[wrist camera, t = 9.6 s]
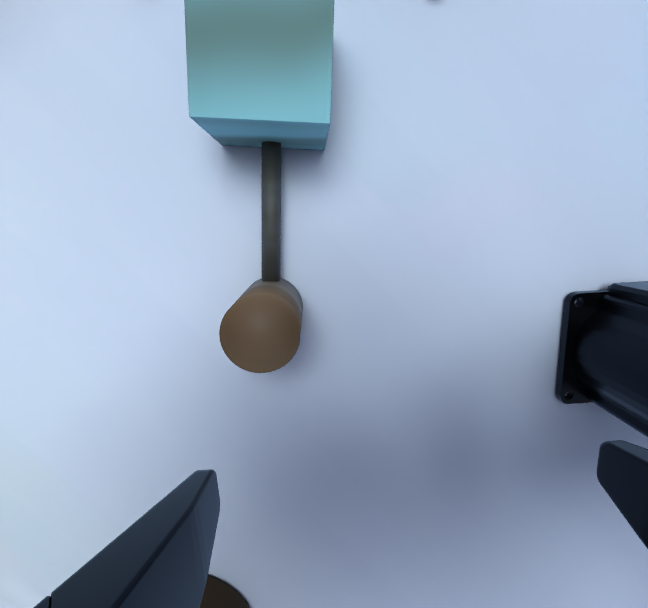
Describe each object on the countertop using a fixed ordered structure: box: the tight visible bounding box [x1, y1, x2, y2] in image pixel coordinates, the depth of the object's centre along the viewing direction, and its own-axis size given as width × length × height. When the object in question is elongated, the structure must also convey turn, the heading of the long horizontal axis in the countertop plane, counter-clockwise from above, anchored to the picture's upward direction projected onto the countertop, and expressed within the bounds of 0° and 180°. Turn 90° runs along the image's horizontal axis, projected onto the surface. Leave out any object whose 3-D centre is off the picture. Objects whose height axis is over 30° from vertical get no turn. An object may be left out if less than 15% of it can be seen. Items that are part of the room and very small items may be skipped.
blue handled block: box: [184, 0, 334, 373], centre depth 16 cm, size 15×5×5 cm, turn 178°
